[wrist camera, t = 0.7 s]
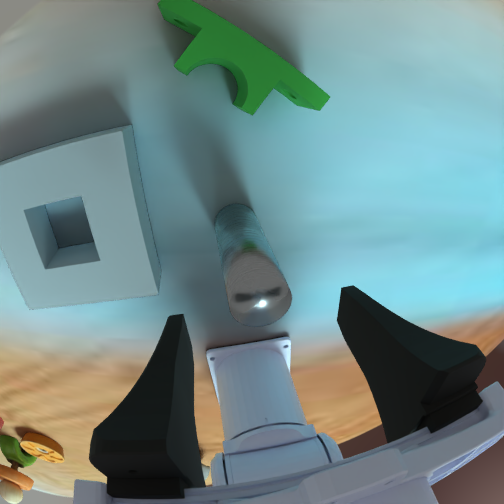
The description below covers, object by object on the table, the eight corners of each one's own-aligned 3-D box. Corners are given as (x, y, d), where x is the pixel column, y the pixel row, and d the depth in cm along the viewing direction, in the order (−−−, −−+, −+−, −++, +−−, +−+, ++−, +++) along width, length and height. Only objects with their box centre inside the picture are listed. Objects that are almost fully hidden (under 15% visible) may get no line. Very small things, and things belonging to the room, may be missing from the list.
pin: (257, 239, 23) (291, 320, 16) (217, 244, 23) (232, 330, 15) (255, 201, 22) (292, 272, 14) (212, 206, 22) (225, 282, 14)
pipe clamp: (141, 50, 16) (128, 41, 12) (174, 7, 15) (169, -12, 11) (275, 133, 20) (294, 145, 16) (306, 93, 19) (331, 96, 15)
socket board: (161, 270, 23) (158, 294, 21) (41, 287, 22) (29, 309, 19) (132, 124, 18) (122, 130, 15) (-2, 162, 16) (-23, 175, 14)
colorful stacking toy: (79, 455, 38) (75, 519, 27) (21, 455, 38) (14, 507, 27) (1, 395, 28) (-20, 471, 18) (-46, 401, 28) (-64, 459, 18)
